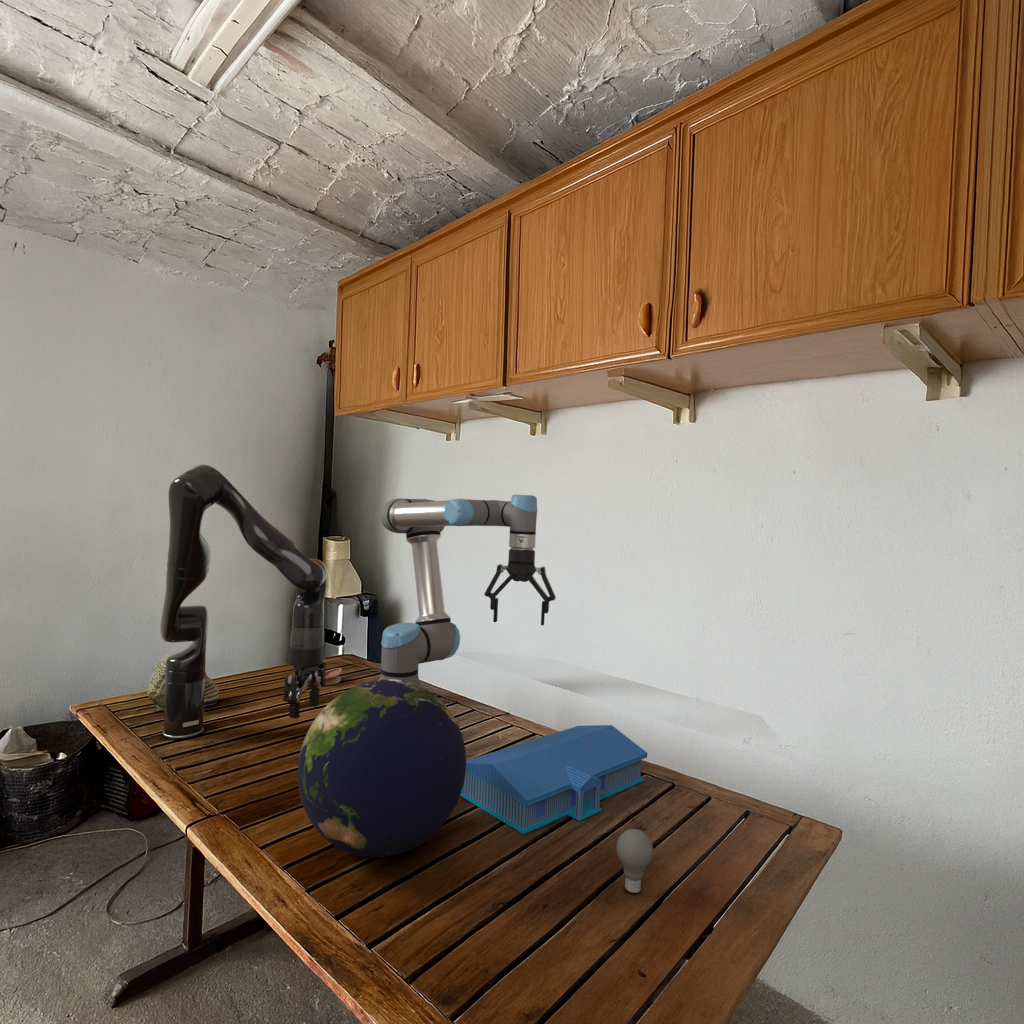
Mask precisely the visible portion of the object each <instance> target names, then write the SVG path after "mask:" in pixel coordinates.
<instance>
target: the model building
mask: <svg viewBox="0 0 1024 1024" xmlns="http://www.w3.org/2000/svg"><path fill="white" fill-rule="evenodd" d="M648 755H649V754H648V751H646V750H644V749H643V748H642V747H640V746H639V744H637V743H635V742H634V741H633V740H632V739H630V738H629V736H626V734H624V733H623V732H621V731H620V730H619V729H618V728H616V727H615V726H614V725H612V724H596V725H595V724H592V725H576V726H574V727H569V728H566V729H564V730H560V731H556V732H553V733H550V734H548V735H544V736H541V737H537V738H534V739H530V740H528V741H524V742H521V743H518V744H514V745H511V746H509V747H505V748H502V749H499V750H496V751H492V752H489V753H485V754H482V755H479V756H476V757H473V758H470V759H466V773H465V779H464V784H463V788H462V791H461V794H460V797H462V798H463V799H465V800H466V801H468V802H470V803H471V804H472V805H475V806H476V807H478V808H479V809H481V810H483V811H485V812H486V813H487V814H490V815H491V816H493V817H494V818H495V819H498V820H499V821H501V822H502V823H503V824H506V825H508V826H509V827H511V828H512V829H514V830H515V831H517V832H519V834H522V835H526V834H528V833H530V832H533V831H535V830H537V829H540V828H542V827H544V826H546V825H548V824H550V823H552V822H556V821H557V820H559V819H562V818H563V817H566V816H569V817H571V818H573V819H574V820H576V821H578V822H581V821H583V820H585V819H587V818H589V817H592V816H594V815H596V814H598V813H600V812H602V808H601V801H602V800H604V799H606V798H609V797H611V796H613V795H616V794H617V793H620V792H622V791H624V790H627V789H629V788H631V787H634V786H636V785H639V784H641V783H642V782H645V781H646V780H645V778H644V777H642V763H643V762H642V761H643V760H645V759H647V758H648Z"/></svg>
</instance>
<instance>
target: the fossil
mask: <svg viewBox="0 0 1024 1024" xmlns="http://www.w3.org/2000/svg"><path fill="white" fill-rule="evenodd" d="M171 655H172V654H165V655H164V656H163V657H162V658H161V659H160V660H159V662H158V663H157V666H156V667H155V669H154V670H153V672H152V675H151V677H150V680H149V684H148V688H147V697H148V699H149V700H150V701H152V703H153V704H154V706H155V711H158V712H159V711H162V712H163V711H164V705H165V674H166V660H167V658H168V657H169V656H171ZM220 698H221V696H220V690H219V688H218V686H217V685H216V683H215V682H214V681H213V679H212V678H211V677H209V675H208V674H207V672H206V671H205V693H204V707H207V706H213V705H215V704H217V703H218V701H219V699H220Z"/></svg>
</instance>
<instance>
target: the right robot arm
mask: <svg viewBox="0 0 1024 1024" xmlns="http://www.w3.org/2000/svg"><path fill="white" fill-rule="evenodd" d="M380 509H381V510H380V513H379V517H380V522H381V525H382V526H383V527H384V528H385V529H386V530H387V531H389V532H390V533H395V534H405V538H406V542H408V543H409V544H410V545H411V549H412V550H411V552H412V562H413V570H414V579H415V580H414V581H415V587H416V598H417V607H418V615H419V616H418V617H417V618H416V620H415V622H404V623H403V622H400V623H394V624H391V625H389V626H387V627H386V628H385V629H384V630H383V632H382V635H381V642H380V643H381V655H380V656H381V658H380V675H379V679H378V680H387V679H396V680H402V681H406V682H410V683H413V684H416V685H418V686H420V687H422V684H421V681H420V678H419V664H425V663H430V662H431V663H432V662H436V661H443V660H445V659H449V658H452V657H453V656H455V654H456V653H457V651H458V650H459V648H460V644H461V643H460V642H461V634H460V629H459V628H458V626H457V624H455V623H454V622H452V620H451V616H450V615H449V614H448V613H446V608H445V600H444V591H443V581H442V574H441V573H442V572H441V565H440V564H441V563H440V556H439V555H440V554H439V547H438V541H439V540H440V538H441V537H442V532H443V531H444V530H445V528H446V527H507V528H508V527H509V539H508V547H509V549H508V562H507V565H504V564H501V563H499V564H498V565H497V566H496V569H495V570H496V571H495V574H494V575H493V577H492V579H491V581H490V582H489V584H488V586H487V588H486V590H485V591H484V593H483V594H484V596H485V597H487V598H489V599H490V606H489V609H490V610H492V611H493V618H492V619H493V620H492V621H493V623H497V621H498V613H499V612H498V611H499V609H498V608H499V598H498V597H497V596H498V595H499V594H500V593H501V592H502V590H503V589H504V588H506V586H507V585H508V584H509V583H510V582H511V581H512V580H513V581H514V582H521V583H527V582H529V583H530V584H531V586H532V587H533V588H534V589H535V591H536V592H537V593H538V594H539V596H540V597H541V598H542V601H541V613H540V626H544V625H545V618H546V617H545V614H549V611H550V602H552V601H556V598H557V597H556V594H555V592H554V589H553V588H552V585H551V583H550V580H549V578H548V576H547V573H546V571H547V570H546V567H545V566H539V567H536V564H535V563H536V551H535V550H534V549H535V548H536V540H537V519H538V518H537V517H538V511H539V510H538V498H537V497H536V496H535V495H533V494H532V495H531V494H512V495H511V497H510V500H509V501H508V500H497V499H467V498H452V499H449V500H447V499H446V500H433V499H428V498H401V497H399V498H393V499H390V500H388V501H386V502H385V503H384V504H383V506H382V507H381V508H380ZM505 571H506V572H507V573H508V576H507V578H505V580H504V581H503V582H502V583H501V584H500V585H498V587H497V588H496V589H495V590H494V592H492V591H493V589H494V587H495V586H496V584H497V582H498V579H499V578H500V576H501V574H503V573H504V572H505ZM536 572H537V574H538V575H539V576H541V579H542V582H543V584H544V586H545V589H546V591H547V593H548V594H547V593H546V592H545V590H544V589H543V588H542V586H541V585H540V583H538V581H537V580H536V578H535V577H534V574H535V573H536Z"/></svg>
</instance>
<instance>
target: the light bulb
mask: <svg viewBox="0 0 1024 1024" xmlns="http://www.w3.org/2000/svg"><path fill="white" fill-rule="evenodd" d="M615 849H616V854H617V857H618V859H619V861H620V863H621V865H622V867H623V873H624V874H623V875H624V876H625V878H624V888H625V890H627V891H628V892H630V893H634V894H635V893H639V892H640V891H641V889H642V887H641V886H642V879H643V877H644V875H645V871H646V868H647V867H648V866H649V864H650V863H651V861H652V859H653V855H654V847H653V843H652V841H651V838H649V836H648V835H647V834H646V833H645V832H643V831H642V830H641V829H636V828H629V829H627V830H625V831H623V832H622V833H621V834H620V835H619V837H618V839H617V841H616V847H615Z"/></svg>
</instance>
